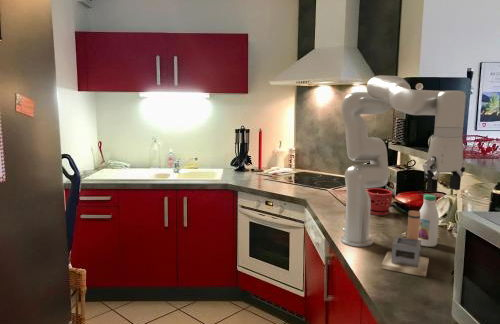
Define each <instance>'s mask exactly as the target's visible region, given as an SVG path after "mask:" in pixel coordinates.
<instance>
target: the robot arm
mask: <svg viewBox="0 0 500 324" xmlns="http://www.w3.org/2000/svg"><path fill="white" fill-rule="evenodd" d="M466 96H467V95H466V92H465V91H462V90H430V89H429V90H427V89H411V86H410V84H409V83H408V82H407V81H406V80H405V78H403V77H401V76H399V75H375V76H373V77H371V78H370V79H369V80H368V82H367V83H366V91H354V92H351V93H348V94H347V95H345V97H344V98H343V101H342V102H341V108H340V109H341V111H340V112H341V117H342V120H343V124H344V129H345V143H346V145H345V146H346V155H347V157H348V159H349V160H351V161H352V162H369V164H367V163H366V164H365V163H364V164H353V165H350V166H349V167H348V168H346V170H345V172H344V182H345V189H346V194H345V195H346V197H345V199H346V200H345V202H346V203H345V222H344V223H345V224H344V226H345V227H343V228H342V229H341V230H342V231H343V232H344V233H343V235H341V237H340V242H341V243H343V244H344V245H348V246H350V247H360V248H361V247H369V246H372V245H373V244H374V243H373V238H371V237H370V227H371V226H370V222H371V214H370V208H371V199H370V196H369V194H368V192H367V191H366V190H367V189H371V188H383V187H385V186H386V185H387V183H388V181H389V173H390V172H389V164H388V163H389V161H388V149H387V146H386V144H385V143H386V142H385V141H384V140H383V139H382V138H380V137H377V136H375V137H373V136H372V137H369V134H368V125H367V123H366V121H365V120H364V118H363V117H362V116H361V115H382V114H384V113H386V112H388V111H389V110H390V109H391V108H393V109H394V110H396V111H398V112H400V113H403V114H407V115H410V116H411V115H412V116H434V117H435V118H434V129H433V137H431V140H430V143H429V146H428V147H429V148H428V152H427V153H428V154H427V159H426V160H427V161H426V162H424V163H422V168H423V174H424V175H425V177H426V179H427V180H426V191H427V192H430V193H435V194H436V193H437V192H438V185H439V183H438V182H439V181H438V180H439V179H437V177H439V175H440V173H451V175H450V179H449V189H451V190H455V191H460V190H461V180H462V177H463V175H464V173H465V170H466V167H467V165H468V161H467V160H465V159H464V145H463V144H464V141H463V132H464V130H463V129H464V121H465V111H466V100H467V97H466Z"/></svg>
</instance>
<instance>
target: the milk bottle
mask: <svg viewBox="0 0 500 324" xmlns="http://www.w3.org/2000/svg"><path fill="white" fill-rule="evenodd" d="M422 198H423V204H422V206H421V207H420V209H419V210H418V211H419V212H420V223H419V237H418V240H421V246H423V247H436V246H437V244H438V235H439V223H440V222H439V221H440V219H439V218H440V217H439V211H438V209H437V206H436V201H437V196H436V195H434V194H430V193H429V194H427V193H426V194H423V197H422Z"/></svg>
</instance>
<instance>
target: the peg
mask: <svg viewBox="0 0 500 324" xmlns="http://www.w3.org/2000/svg"><path fill="white" fill-rule="evenodd" d="M419 211H420V210H408V214H407V218H408V219H407V230H406V238H410V239H417V240H418V237H419V223H420V212H419Z"/></svg>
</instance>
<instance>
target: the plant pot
mask: <svg viewBox="0 0 500 324" xmlns="http://www.w3.org/2000/svg"><path fill="white" fill-rule="evenodd" d="M366 191H367V192H368V194H369V196H370V199H371V208H370V215H374V216H386V215H388V214H390V207H391V205H392V201H393V191H392V190H390V189H386V188H385V189H384V188H381V187H377V188H367V189H366Z"/></svg>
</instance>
